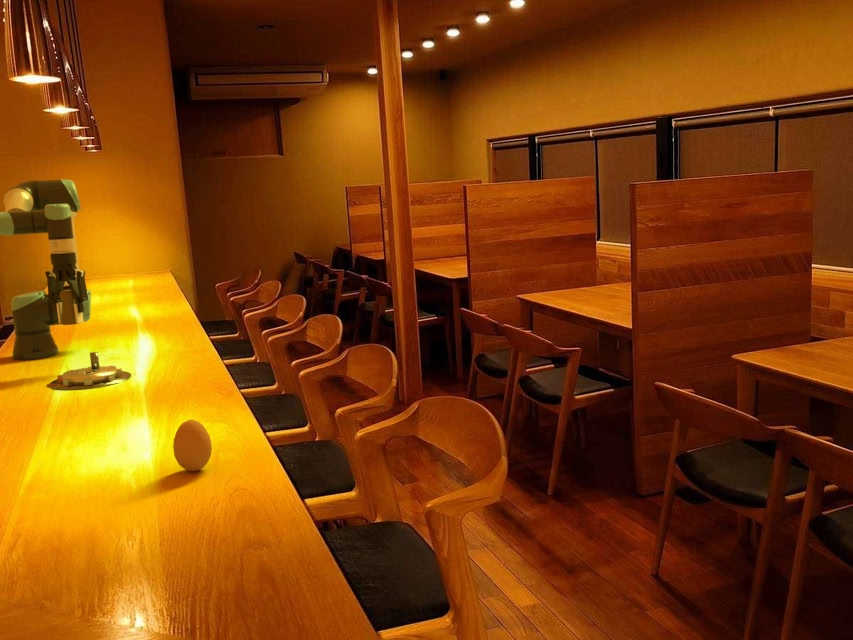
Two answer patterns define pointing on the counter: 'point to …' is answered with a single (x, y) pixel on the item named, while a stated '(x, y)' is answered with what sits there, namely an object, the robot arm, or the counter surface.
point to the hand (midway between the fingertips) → (71, 322)
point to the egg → (192, 445)
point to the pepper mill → (68, 307)
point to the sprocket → (90, 373)
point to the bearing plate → (60, 386)
